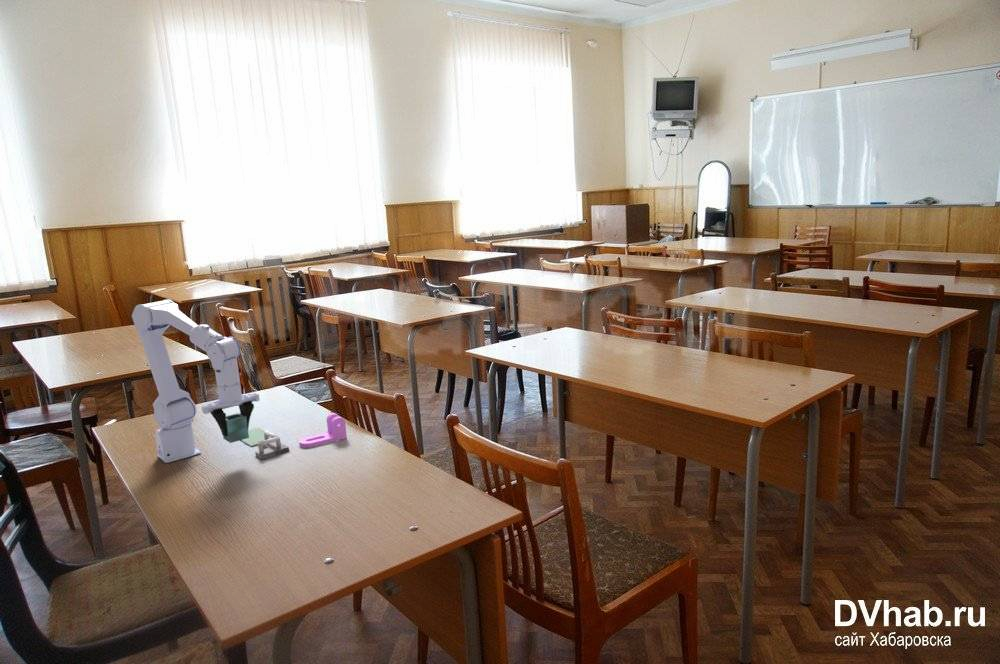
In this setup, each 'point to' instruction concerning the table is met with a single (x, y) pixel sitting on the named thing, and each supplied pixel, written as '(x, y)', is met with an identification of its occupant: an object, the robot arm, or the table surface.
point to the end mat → (254, 437)
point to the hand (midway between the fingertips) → (235, 432)
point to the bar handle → (270, 446)
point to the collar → (236, 428)
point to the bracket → (334, 433)
